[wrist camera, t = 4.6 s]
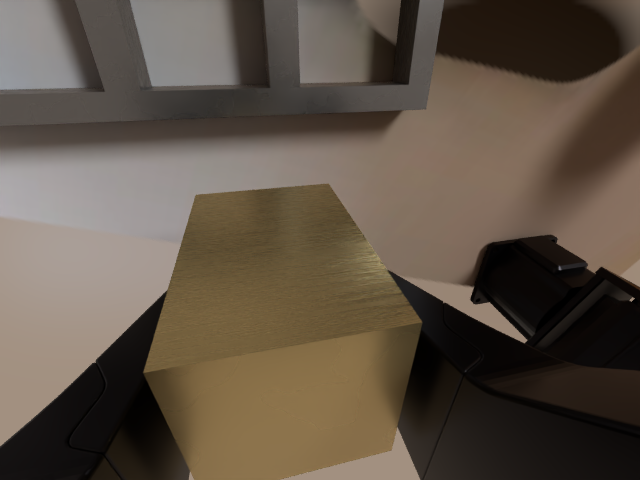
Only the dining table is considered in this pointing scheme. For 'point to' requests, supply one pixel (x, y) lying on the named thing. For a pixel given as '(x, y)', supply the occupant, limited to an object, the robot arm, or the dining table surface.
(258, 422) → the brass block
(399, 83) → the grey flat frame
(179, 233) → the dining table surface
